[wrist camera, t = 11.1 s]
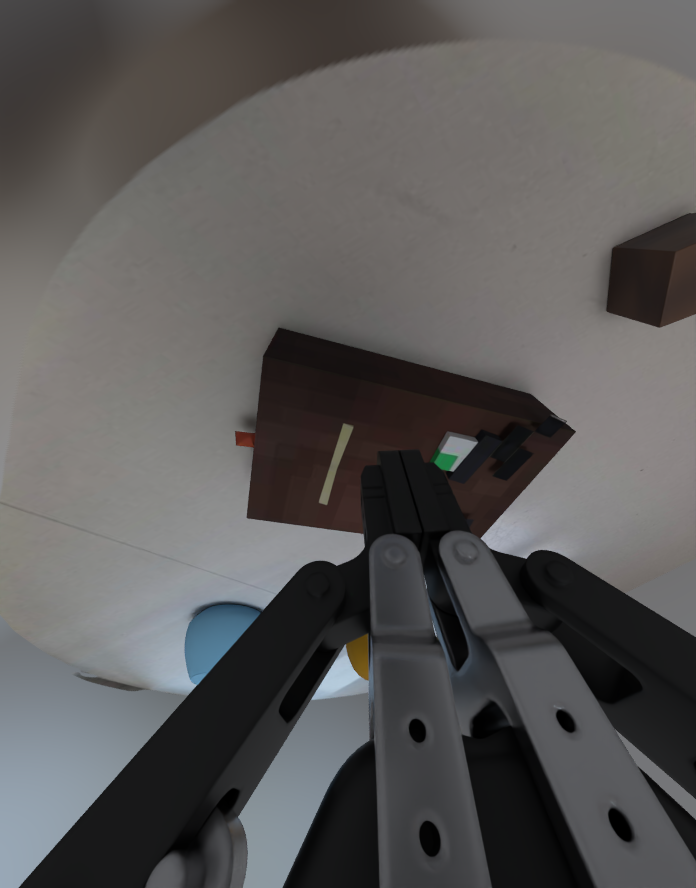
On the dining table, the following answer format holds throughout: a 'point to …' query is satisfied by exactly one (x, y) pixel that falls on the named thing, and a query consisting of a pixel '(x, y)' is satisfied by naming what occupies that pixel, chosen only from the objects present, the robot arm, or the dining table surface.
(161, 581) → the dining table surface
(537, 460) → the decorative book
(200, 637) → the sugar bowl
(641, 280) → the walnut block
